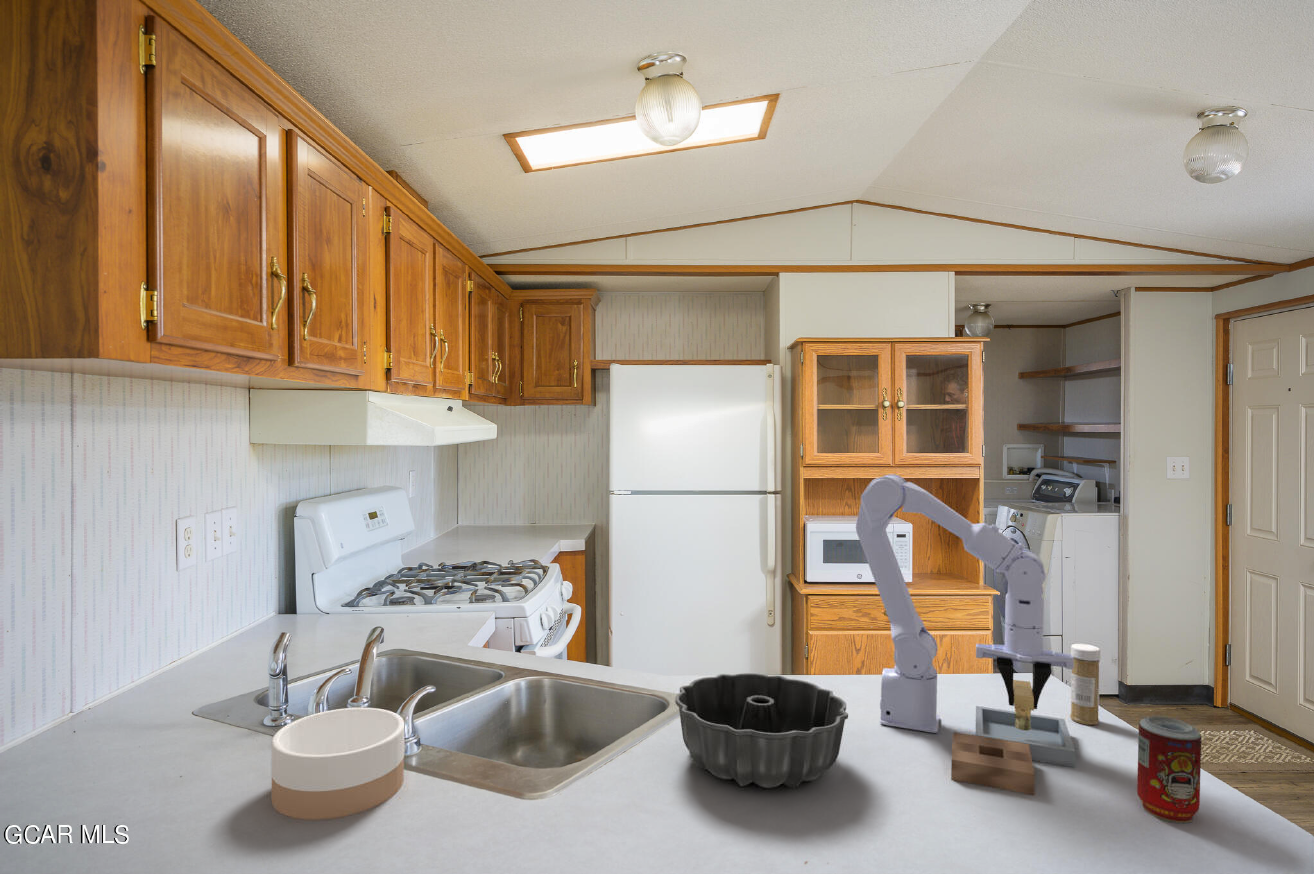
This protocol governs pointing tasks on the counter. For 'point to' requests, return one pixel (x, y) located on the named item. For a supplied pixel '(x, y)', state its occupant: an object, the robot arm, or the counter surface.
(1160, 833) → the counter surface
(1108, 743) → the counter surface
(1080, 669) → the sprinkles bottle
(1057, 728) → the tray
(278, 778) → the bowl
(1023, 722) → the t key
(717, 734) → the bundt pan
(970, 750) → the slot block
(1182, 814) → the soda can
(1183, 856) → the counter surface
